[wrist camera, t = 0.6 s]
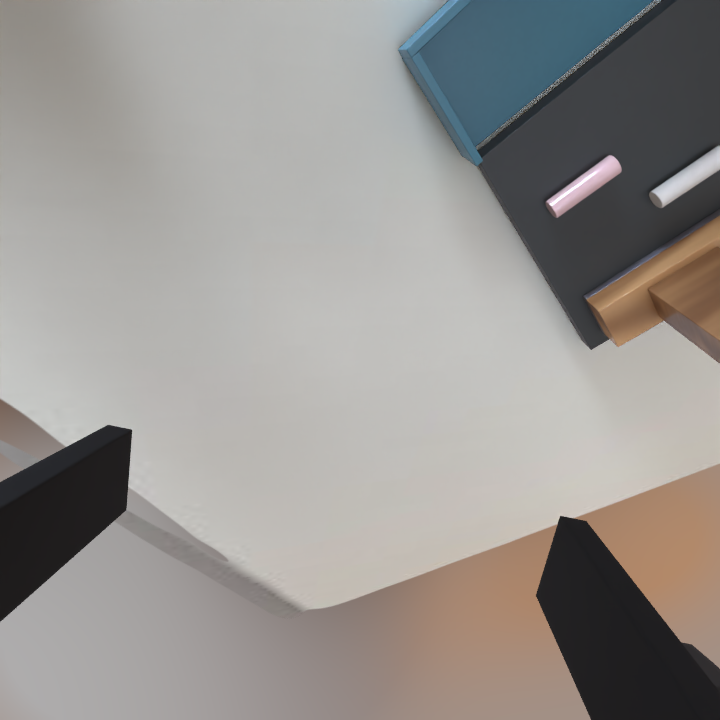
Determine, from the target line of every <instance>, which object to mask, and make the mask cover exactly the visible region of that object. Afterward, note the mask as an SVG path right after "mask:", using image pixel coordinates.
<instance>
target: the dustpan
mask: <svg viewBox="0 0 720 720" xmlns="http://www.w3.org/2000/svg"><path fill="white" fill-rule="evenodd" d="M652 1H653V0H449V1H448V2H447V3H446V4H445V5H444V6H442V7H441V8H440V9H439V10H438V11H437V12H436V13H435V14H434V15H433V16H432V17H431V18H430V19H429V20H428V21H427V22H426V23H425V24H424V25H423V26H422V27H421V28H420V29H419V30H418V31H417V32H416V33H415V34H414V35H413V36H411V37H410V38H409V39H408V40H407V41H406V42H405V43H404V44H403V45H402V46H401V47H400V48H399V49H398V51H399V53H400V54H401V56H402V59H403V61H404V62H405V64H406V66H407V67H408V69H409V70H410V72H411V74H412V75H413V77H414V79H415V80H416V82H417V84H418V85H419V87H420V88H421V90H422V92H423V93H424V95H425V97H426V98H427V100H428V102H429V103H430V105H431V106H432V108H433V110H434V111H435V113H436V115H437V116H438V118H439V119H440V121H441V123H442V124H443V126H444V128H445V129H446V131H447V133H448V134H449V136H450V137H451V139H452V141H453V142H454V144H455V146H456V147H457V149H458V150H459V152H460V154H461V155H462V156H463V157H464V158H466V159H467V160H469V161H470V162H471V163H473V164H474V165H476V166H478V165H479V164H480V163H481V162H482V161H483V159H482V158H481V156H480V154H479V153H478V151H477V149H476V146H477V145H478V144H479V143H481V142H482V141H483V140H484V139H485V138H487V137H488V136H489V135H490V134H492V133H493V132H494V131H495V130H496V129H498V128H499V127H500V126H501V125H502V124H504V123H505V122H506V121H507V120H509V119H510V118H511V117H512V116H513V115H515V114H516V113H517V112H518V111H520V110H521V109H522V108H523V107H524V106H526V105H527V104H528V103H529V102H530V101H532V100H533V99H534V98H535V97H537V96H538V95H539V94H540V93H541V92H543V91H544V90H545V89H546V88H548V87H549V86H550V85H551V84H552V83H554V82H555V81H556V80H557V79H558V78H560V77H561V76H562V75H563V74H565V73H566V72H567V71H568V70H569V69H571V68H572V67H573V66H574V65H576V64H577V63H578V62H579V61H580V60H582V59H583V58H584V57H585V56H586V55H588V54H589V53H590V52H591V51H593V50H594V49H595V48H596V47H597V46H599V45H600V44H601V43H602V42H604V41H605V40H606V39H607V38H608V37H610V36H611V35H612V34H613V33H614V32H616V31H617V30H618V29H619V28H621V27H622V26H623V25H624V24H625V23H627V22H628V21H629V20H630V19H632V18H633V17H634V16H635V15H636V14H638V13H639V12H640V11H641V10H642V9H644V8H645V7H646V6H647V5H649V4H650V3H651V2H652Z"/></svg>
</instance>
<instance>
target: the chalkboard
mask: <svg viewBox="0 0 720 720" xmlns="http://www.w3.org/2000/svg"><path fill="white" fill-rule="evenodd" d="M718 145H720V0H662V1H661V2H660V3H659V4H658V5H656V6H655V7H654V8H653V9H651V10H650V11H649V12H648V13H646V14H645V15H644V16H643V17H642V18H640V19H639V20H638V21H637V22H635V23H634V24H633V25H632V26H631V27H629V28H628V29H627V30H626V31H624V32H623V33H622V34H621V35H620V36H618V37H617V38H616V39H615V40H613V41H612V42H611V43H610V44H608V45H607V46H606V47H605V48H604V49H602V50H601V51H600V52H599V53H597V54H596V55H595V56H594V57H593V58H591V59H590V60H589V61H588V62H586V63H585V64H584V65H583V66H582V67H580V68H579V69H578V70H577V71H575V72H574V73H573V74H572V75H570V76H569V77H568V78H567V79H566V80H564V81H563V82H562V83H561V84H559V85H558V86H557V87H556V88H555V89H553V90H552V91H551V92H550V93H548V94H547V95H546V96H545V97H544V98H542V99H541V100H540V101H539V102H537V103H536V104H535V105H534V106H533V107H531V108H530V109H529V110H528V111H526V112H525V113H524V114H523V115H521V116H520V117H519V118H518V119H517V120H515V121H514V122H513V123H512V124H510V125H509V126H508V127H507V128H506V129H504V130H503V131H502V132H501V133H499V134H498V135H497V136H496V137H495V138H493V139H492V140H491V141H490V142H488V143H487V144H486V145H485V146H483V147H482V148H481V149H480V150H479V151H478V153H479V154H480V156H481V158H482V159H483V161H482V162H481V163H480V164H479V165H478V167H479V169H480V171H481V172H482V174H483V176H484V177H485V179H486V181H487V182H488V184H489V186H490V187H491V189H492V191H493V192H494V194H495V196H496V197H497V199H498V201H499V202H500V204H501V206H502V207H503V209H504V211H505V212H506V214H507V216H508V217H509V219H510V221H511V222H512V224H513V226H514V227H515V229H516V231H517V232H518V234H519V236H520V237H521V239H522V241H523V242H524V244H525V246H526V247H527V249H528V251H529V252H530V254H531V256H532V257H533V259H534V261H535V262H536V264H537V266H538V267H539V269H540V271H541V272H542V274H543V276H544V277H545V279H546V281H547V282H548V284H549V286H550V287H551V289H552V291H553V292H554V294H555V296H556V297H557V299H558V301H559V302H560V304H561V306H562V307H563V309H564V311H565V312H566V314H567V316H568V317H569V319H570V321H571V322H572V324H573V326H574V327H575V329H576V331H577V332H578V334H579V336H580V337H581V339H582V341H583V342H584V343H585V344H586V345H587V346H588V347H589V348H590V349H591V350H592V349H593V348H595V347H597V346H598V345H600V344H602V343H604V342H605V341H607V340H609V338H608V337H607V336H606V335H605V334H604V333H603V332H602V331H601V329H600V327H599V325H598V323H597V322H596V320H595V318H594V316H593V314H592V313H591V311H590V309H589V307H588V305H587V304H586V302H585V300H584V298H583V296H584V295H585V294H587V293H589V292H590V291H592V290H593V289H595V288H596V287H598V286H600V285H601V284H603V283H604V282H606V281H607V280H609V279H611V278H612V277H614V276H615V275H617V274H618V273H620V272H622V271H623V270H625V269H626V268H628V267H629V266H631V265H633V264H634V263H636V262H637V261H639V260H640V259H642V258H644V257H645V256H647V255H648V254H650V253H651V252H653V251H655V250H656V249H658V248H659V247H661V246H662V245H664V244H666V243H667V242H669V241H670V240H672V239H673V238H675V237H677V236H678V235H680V234H681V233H683V232H684V231H686V230H688V229H689V228H691V227H692V226H694V225H695V224H697V223H699V222H700V221H702V220H703V219H705V218H706V217H708V216H710V215H711V214H713V213H714V212H716V211H717V210H719V209H720V170H719V171H717V172H716V173H714V174H713V175H711V176H710V177H708V178H707V179H705V180H704V181H702V182H701V183H699V184H698V185H696V186H695V187H693V188H692V189H690V190H689V191H687V192H686V193H684V194H683V195H681V196H680V197H678V198H677V199H675V200H674V201H672V202H671V203H669V204H668V205H666V206H665V207H663V208H658V207H657V206H655V205H654V204H653V202H652V201H651V199H650V197H649V193H650V191H652V190H653V189H655V188H656V187H658V186H659V185H661V184H662V183H664V182H665V181H667V180H668V179H669V178H671V177H672V176H674V175H675V174H677V173H678V172H680V171H681V170H683V169H684V168H686V167H687V166H689V165H690V164H691V163H693V162H694V161H696V160H697V159H699V158H700V157H702V156H703V155H705V154H706V153H708V152H709V151H711V150H712V149H713V148H715V147H716V146H718ZM609 155H612V156H614V157H615V158H616V159H617V160H618V162H619V163H620V165H621V168H622V172H621V173H620V174H619V175H617V176H616V177H614V178H613V179H612V180H610V181H609V182H607V183H606V184H605V185H603V186H602V187H600V188H599V189H598V190H596V191H595V192H593V193H592V194H591V195H589V196H588V197H586V198H585V199H584V200H582V201H581V202H579V203H578V204H576V205H575V206H574V207H572V208H571V209H569V210H568V211H567V212H565V213H564V214H562V215H561V216H560V217H558V218H555V217H554V216H553V215H552V214H551V213H550V212H549V210H548V208H547V207H546V204H545V202H546V201H547V200H548V199H550V198H551V197H552V196H554V195H555V194H556V193H558V192H559V191H560V190H562V189H563V188H565V187H566V186H567V185H569V184H570V183H571V182H573V181H574V180H575V179H577V178H578V177H580V176H581V175H582V174H584V173H585V172H586V171H588V170H589V169H591V168H592V167H593V166H595V165H596V164H597V163H599V162H600V161H601V160H603V159H604V158H606V157H607V156H609Z"/></svg>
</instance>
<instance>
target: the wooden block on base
mask: <svg viewBox="0 0 720 720" xmlns="http://www.w3.org/2000/svg"><path fill="white" fill-rule="evenodd" d="M583 298H584V300H585V302H586V304H587V305H588V307H589V309H590V311H591V313H592V314H593V316H594V318H595V320H596V322H597V323H598V325H599V327H600V329H601V331H602V332H603V333H604V334H605V335H606V336H607V337H608V338H609V339H610V340H611V341H612V342H613V343H614V344H615V345H616V346H617V347H619V346H621V345H623V344H624V343H626V342H628V341H630V340H631V339H633V338H635V337H636V336H638V335H640V334H642V333H643V332H645V331H647V330H649V329H650V328H652V327H654V326H655V325H657V324H659V323H661V322H662V321H665V322H667V323H668V324H669V325H670V326H672V327H673V328H674V329H676V330H677V331H678V332H680V333H681V334H682V335H683V336H685V337H686V338H687V339H689V340H690V341H691V342H692V343H694V344H695V345H696V346H698V347H699V348H700V349H702V350H703V351H704V352H705V353H707V354H708V355H709V356H711V357H712V358H713V359H714V360H716V361H717V362H718V363H720V209H719V210H717V211H716V212H714V213H713V214H711V215H710V216H708V217H706V218H705V219H703V220H702V221H700V222H699V223H697V224H695V225H694V226H692V227H691V228H689V229H688V230H686V231H684V232H683V233H681V234H680V235H678V236H677V237H675V238H673V239H672V240H670V241H669V242H667V243H666V244H664V245H662V246H661V247H659V248H658V249H656V250H655V251H653V252H651V253H650V254H648V255H647V256H645V257H644V258H642V259H640V260H639V261H637V262H636V263H634V264H633V265H631V266H629V267H628V268H626V269H625V270H623V271H622V272H620V273H618V274H617V275H615V276H614V277H612V278H611V279H609V280H607V281H606V282H604V283H603V284H601V285H600V286H598V287H596V288H595V289H593V290H592V291H590V292H589V293H587V294H585V295H584V296H583Z"/></svg>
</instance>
